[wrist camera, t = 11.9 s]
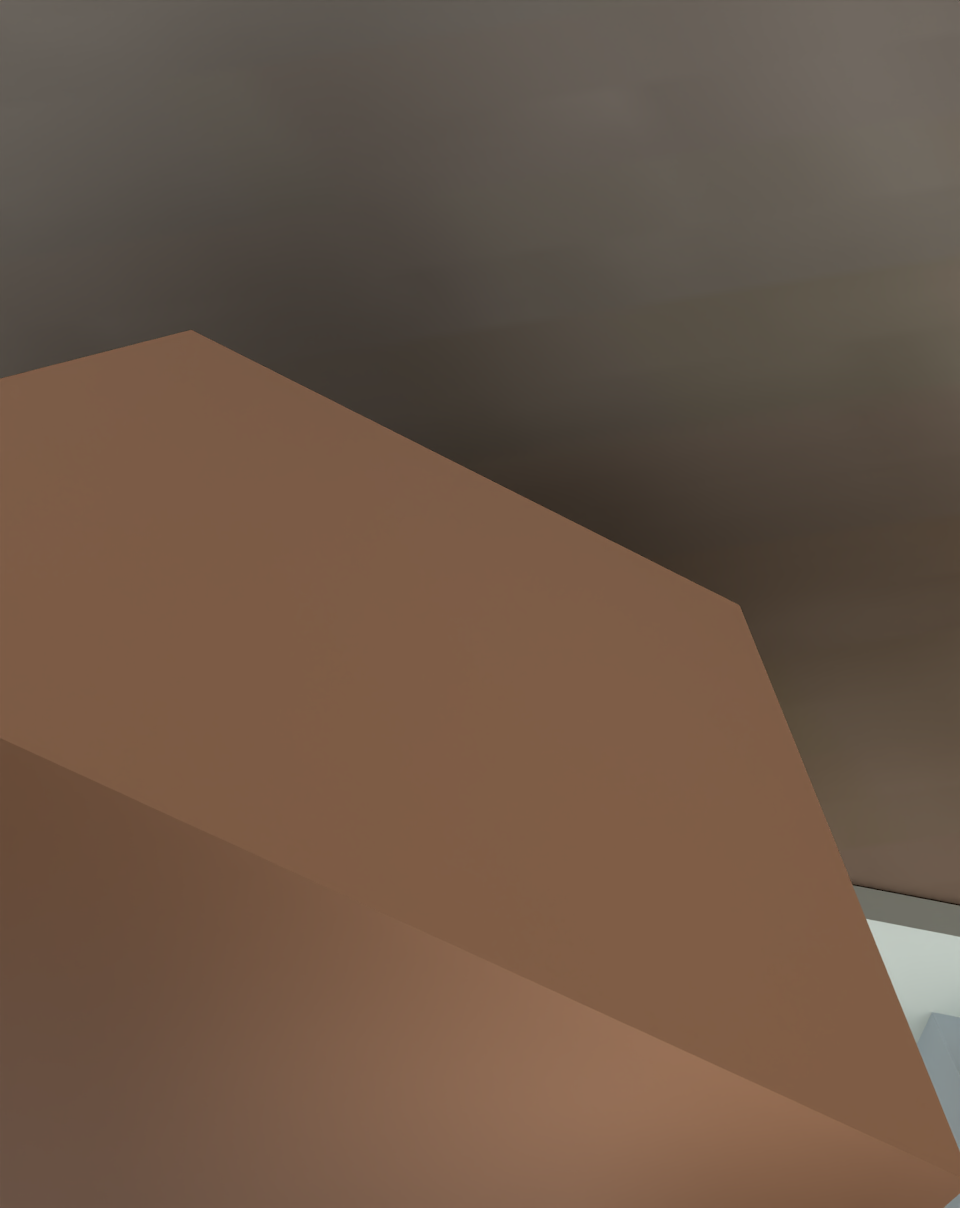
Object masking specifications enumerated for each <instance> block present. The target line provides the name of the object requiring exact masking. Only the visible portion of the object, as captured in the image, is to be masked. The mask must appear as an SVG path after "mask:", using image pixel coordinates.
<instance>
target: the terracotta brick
mask: <svg viewBox="0 0 960 1208" xmlns="http://www.w3.org/2000/svg"><path fill="white" fill-rule="evenodd" d="M959 1194H960V1151H959V1148H958V1146H957V1143H956V1141H955V1138H954V1136H953V1133H952V1131H951V1128H950V1126H949V1123H948V1121H947V1119H946V1116H945V1114H944V1111H943V1109H942V1106H941V1104H940V1101H939V1099H938V1096H937V1094H936V1091H935V1089H934V1086H933V1084H932V1081H931V1079H930V1076H929V1074H928V1071H927V1069H926V1066H925V1064H924V1061H923V1059H922V1057H921V1054H920V1052H919V1049H918V1047H917V1044H916V1042H915V1039H914V1037H913V1034H912V1032H911V1029H910V1027H909V1024H908V1022H907V1019H906V1017H905V1014H904V1012H903V1009H902V1007H901V1004H900V1002H899V999H898V997H897V995H896V992H895V990H894V987H893V985H892V982H891V980H890V977H889V975H888V972H887V970H886V967H885V965H884V962H883V960H882V957H881V955H880V952H879V950H878V947H877V945H876V942H875V940H874V937H873V935H872V933H871V930H870V928H869V925H868V923H867V920H866V918H865V915H864V913H863V910H862V908H861V905H860V903H859V900H858V898H857V895H856V893H855V890H854V888H853V885H852V883H851V880H850V878H849V875H848V873H847V871H846V868H845V866H844V863H843V861H842V858H841V856H840V853H839V851H838V848H837V846H836V843H835V841H834V838H833V836H832V833H831V831H830V828H829V826H828V823H827V821H826V818H825V816H824V813H823V811H822V809H821V806H820V804H819V801H818V799H817V796H816V794H815V791H814V789H813V786H812V784H811V781H810V779H809V776H808V774H807V771H806V769H805V766H804V764H803V761H802V759H801V756H800V754H799V751H798V749H797V747H796V744H795V742H794V739H793V737H792V734H791V732H790V729H789V727H788V724H787V722H786V719H785V717H784V714H783V712H782V709H781V707H780V704H779V702H778V699H777V697H776V694H775V692H774V689H773V687H772V685H771V682H770V680H769V677H768V675H767V672H766V670H765V667H764V665H763V662H762V660H761V657H760V655H759V652H758V650H757V647H756V645H755V642H754V640H753V637H752V635H751V632H750V630H749V627H748V625H747V623H746V620H745V618H744V615H743V613H742V610H741V608H740V605H738V604H736V603H734V602H732V601H730V600H728V599H726V598H724V597H722V596H720V595H718V594H716V593H714V592H712V591H710V590H708V589H706V588H704V587H702V586H700V585H698V584H696V583H694V582H692V581H690V580H688V579H686V578H684V577H682V576H680V575H678V574H676V573H674V572H672V571H670V570H668V569H666V568H664V567H662V566H660V565H658V564H657V563H655V562H653V561H651V560H649V559H647V558H645V557H643V556H641V555H639V554H637V553H635V552H633V551H631V550H629V549H627V548H625V547H623V546H621V545H619V544H617V543H615V542H613V541H611V540H609V539H607V538H605V537H603V536H601V535H599V534H597V533H595V532H593V531H591V530H589V529H587V528H585V527H583V526H581V525H579V524H577V523H575V522H573V521H571V520H569V519H567V518H565V517H563V516H561V515H559V514H557V513H555V512H553V511H551V510H549V509H547V508H545V507H543V506H541V505H539V504H537V503H535V502H533V501H531V500H529V499H527V498H525V497H523V496H521V495H519V494H517V493H515V492H513V491H511V490H509V489H507V488H505V487H503V486H501V485H499V484H497V483H495V482H493V481H491V480H489V479H487V478H485V477H483V476H481V475H479V474H477V473H475V472H473V471H471V470H469V469H467V468H465V467H463V466H461V465H459V464H457V463H455V462H453V461H451V460H449V459H447V458H445V457H443V456H441V455H439V454H438V453H436V452H434V451H432V450H430V449H428V448H426V447H424V446H422V445H420V444H418V443H416V442H414V441H412V440H410V439H408V438H406V437H404V436H402V435H400V434H398V433H396V432H394V431H392V430H390V429H388V428H386V427H384V426H382V425H380V424H378V423H376V422H374V421H372V420H370V419H368V418H366V417H364V416H362V415H360V414H358V413H356V412H354V411H352V410H350V409H348V408H346V407H344V406H342V405H340V404H338V403H336V402H334V401H332V400H330V399H328V398H326V397H324V396H322V395H320V394H318V393H316V392H314V391H312V390H310V389H308V388H306V387H304V386H302V385H300V384H298V383H296V382H294V381H292V380H290V379H288V378H286V377H284V376H282V375H280V374H278V373H276V372H274V371H272V370H270V369H268V368H266V367H264V366H262V365H260V364H258V363H256V362H254V361H252V360H250V359H248V358H246V357H244V356H242V355H240V354H238V353H236V352H234V351H232V350H230V349H228V348H226V347H224V346H222V345H220V344H219V343H217V342H215V341H213V340H211V339H209V338H207V337H205V336H203V335H201V334H199V333H197V332H195V331H193V330H188V331H184V332H180V333H176V334H173V335H169V336H165V337H161V338H157V339H153V340H149V341H145V342H141V343H137V344H133V345H129V346H126V347H122V348H118V349H114V350H110V351H106V352H102V353H98V354H94V355H90V356H86V357H82V358H79V359H75V360H71V361H67V362H63V363H59V364H55V365H51V366H47V367H43V368H39V369H35V370H32V371H28V372H24V373H20V374H16V375H12V376H8V377H4V378H0V1208H944V1207H945V1206H946V1205H947V1204H948V1203H949V1202H951V1201H952V1200H953V1199H954V1198H955V1197H956V1196H957V1195H959Z"/></svg>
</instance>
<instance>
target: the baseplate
mask: <svg viewBox="0 0 960 1208" xmlns="http://www.w3.org/2000/svg"><path fill="white" fill-rule="evenodd" d="M853 888H854V890H855V893H856V895H857V898H858V900H859V903H860V905H861V908H862V910H863V913H864V915H865V918H866V920H867V923H868V925H869V928H870V930H871V933H872V935H873V937H874V940H875V942H876V945H877V947H878V950H879V952H880V955H881V957H882V960H883V962H884V965H885V967H886V970H887V972H888V975H889V977H890V980H891V982H892V985H893V987H894V990H895V992H896V995H897V997H898V999H899V1002H900V1004H901V1007H902V1009H903V1012H904V1014H905V1017H906V1019H907V1022H908V1024H909V1027H910V1029H911V1032H912V1034H913V1037H914V1039H915V1042H916V1044H917V1047H918V1049H919V1052H920V1054H921V1057H922V1059H923V1061H924V1064H925V1066H926V1069H927V1071H928V1074H929V1076H930V1079H931V1081H932V1084H933V1086H934V1089H935V1091H936V1094H937V1096H938V1099H939V1101H940V1104H941V1106H942V1109H943V1111H944V1114H945V1116H946V1119H947V1121H948V1123H949V1126H950V1128H951V1131H952V1133H953V1136H954V1138H955V1141H956V1143H957V1146H958V1148H959V1151H960V906H959V905H953V904H948V903H943V902H938V901H932V900H927V899H922V898H917V897H911V896H906V895H901V894H896V893H890V892H885V891H880V890H875V889H870V888H864V887H859V886H854V885H853ZM959 1207H960V1194H959V1195H957V1196H956V1197H955V1198H954V1199H953V1200H952V1201H951V1202H949V1203H948V1204H947V1205H946V1206H945V1207H944V1208H959Z"/></svg>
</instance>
